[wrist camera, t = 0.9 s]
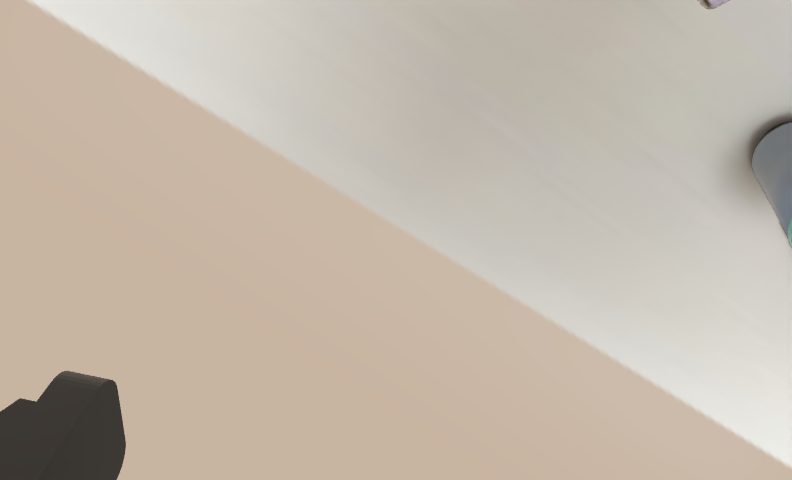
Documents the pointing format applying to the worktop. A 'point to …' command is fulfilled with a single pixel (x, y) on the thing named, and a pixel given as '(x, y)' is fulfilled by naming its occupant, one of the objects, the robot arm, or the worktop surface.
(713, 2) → the cake pan box
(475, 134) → the worktop surface
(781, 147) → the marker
